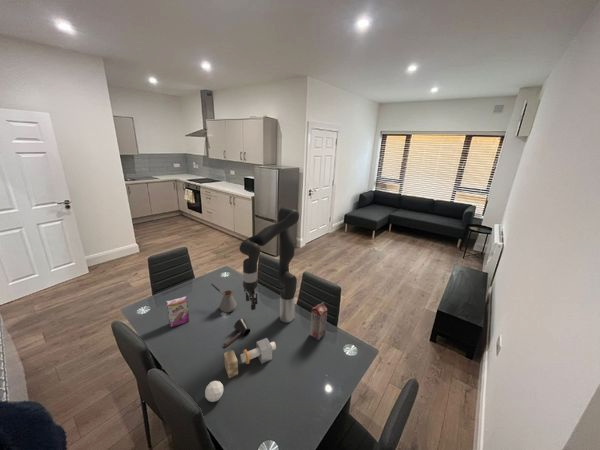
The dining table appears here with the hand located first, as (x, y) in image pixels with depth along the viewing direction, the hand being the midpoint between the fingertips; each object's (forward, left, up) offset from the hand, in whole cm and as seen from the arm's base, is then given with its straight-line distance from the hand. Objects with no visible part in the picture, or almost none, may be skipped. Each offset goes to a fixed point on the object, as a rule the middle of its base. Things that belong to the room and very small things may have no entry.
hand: (250, 304), depth 129 cm
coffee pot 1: (+6, -42, -27) cm, 51 cm away
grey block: (-3, +11, -27) cm, 29 cm away
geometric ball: (+25, +21, -27) cm, 42 cm away
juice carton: (-38, +11, -27) cm, 48 cm away
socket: (+14, +11, -27) cm, 33 cm away
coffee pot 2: (+6, -11, -28) cm, 30 cm away
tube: (0, +11, -26) cm, 28 cm away
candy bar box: (+34, -38, -27) cm, 58 cm away
